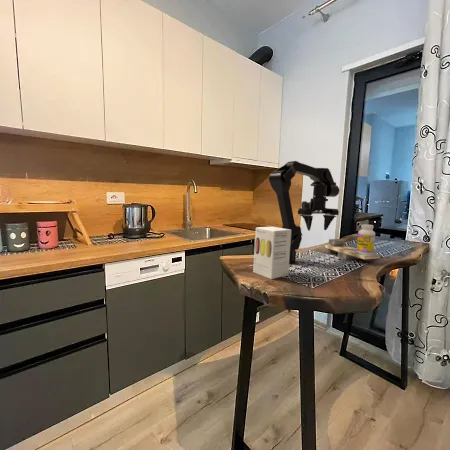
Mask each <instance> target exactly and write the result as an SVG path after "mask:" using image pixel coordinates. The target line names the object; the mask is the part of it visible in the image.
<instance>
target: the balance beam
mask: <svg viewBox="0 0 450 450" xmlns="http://www.w3.org/2000/svg"><path fill="white" fill-rule="evenodd" d="M344 243H345V240H344V239H339V238H332V239H331V238H330V239H328V244H325V246H324V247H325V249H327V253H328V254H337V258H338V259H339V258H340V259H342V260H345V261H348V260H359V259H361V260H362V259H363V260H371V259H374V260H376V259H381V254H377V253H375V252H373V254H372V255H364V254H359V253H357V252H356V250H357V248H354V247H350V246H347V245H344Z"/></svg>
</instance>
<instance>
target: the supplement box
mask: <svg viewBox="0 0 450 450" xmlns="http://www.w3.org/2000/svg"><path fill="white" fill-rule="evenodd" d="M254 235H255V236H254V248H253V249H254V251H253V267H252V268H253V273H255V274H257V275H259V276H262V277H265V278H268V279H270V280H273V279H277V278H281V277H285V276H289V269H290V267H289V266H290V264H289V257H290V243H291V230H290V229H284V228H282V227H277V226H260V227H258V226H257V227H255V234H254Z"/></svg>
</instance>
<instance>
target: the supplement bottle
mask: <svg viewBox="0 0 450 450" xmlns="http://www.w3.org/2000/svg"><path fill="white" fill-rule="evenodd" d="M373 229H374V225H373V224H366V223H364V224H361V229H359V230H358V232H357V241H356V249H357V250H356V252H357V253H359V254H364V255H372V254H373V253H374V249H375V240H376V232H375V231H374V230H373Z"/></svg>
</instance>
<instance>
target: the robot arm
mask: <svg viewBox="0 0 450 450" xmlns="http://www.w3.org/2000/svg"><path fill="white" fill-rule="evenodd" d="M296 174H299V175H303V176H305V177H309V179H310V180H311V181H313V182H312V183H311V184H310V187H313V193H312V198H310V201H309V202H307V200H305V201H301V205H300V206H301V207H299V208H298V210H297V215H300V217H301V218H303V219H304V222H305V225H306V229H307V231H311V227H312V224H313V219H314V216H313V214H314V215H315V214H316V215H317V214H321V215H322V216H323V218H324V219H323V220H324V221H323V230H324V231H327V230H328V228H329V226H330V225H331V223H332V222H333V220H334V219H335V218H337V216H339V213H340V211H339V209H338V208H330V207H329V208H328V207H327V206H326V204H327V202H328V201H329V198H331V197H332V198H333V197H334V198H336V197H337V196H338V195H339V193H340V188H339V186H338V185H337V182H335V181H334V177H333V176H332V172H331V170H330V169H329V168H328V167H314V166H311V165H308V164H305V163H303V162H299V161H297V160H292V161H287V162H286V163H285V164H284V165H282V166H280V167H278V168H277V169H275V170H274V171H272V172H270V174H269V176H268V181H269V185H270V186H271V188H272V190H273V191H274V193H275V194H276V198H277V204H278V208H279V212H280V217H281V218H280V219H281V223H282V227H281V228H284V229H290V230H291V243H290V257H289V265H291V264H292V265H293V264H297V258H296V257H297V250H299V249H300V245H301V243H302V239H303V233H302V227H301V226H299V225H297V224H296V223H295V218H294V214H293V213H294V212H293V208H292V202H291V196H290V188H291V186H292V179H293V178H294V177H295V176H296Z"/></svg>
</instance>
